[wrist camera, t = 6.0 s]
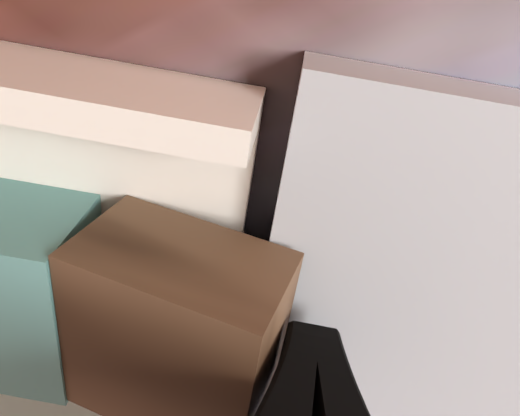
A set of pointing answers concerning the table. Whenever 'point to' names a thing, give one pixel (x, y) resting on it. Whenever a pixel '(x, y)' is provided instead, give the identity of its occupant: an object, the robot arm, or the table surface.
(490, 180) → the beige board
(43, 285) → the mint green block
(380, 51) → the table surface
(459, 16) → the table surface
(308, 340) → the robot arm
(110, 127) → the box
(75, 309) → the brown square block
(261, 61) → the table surface
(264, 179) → the table surface
